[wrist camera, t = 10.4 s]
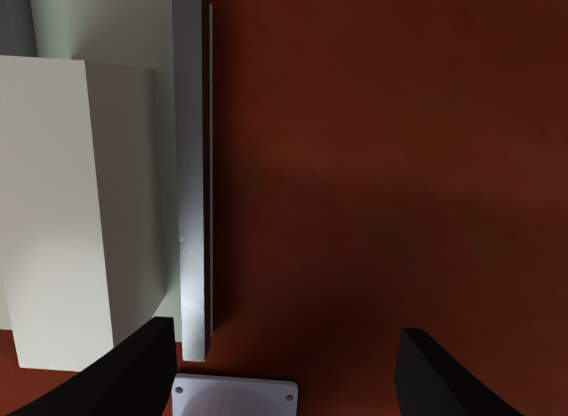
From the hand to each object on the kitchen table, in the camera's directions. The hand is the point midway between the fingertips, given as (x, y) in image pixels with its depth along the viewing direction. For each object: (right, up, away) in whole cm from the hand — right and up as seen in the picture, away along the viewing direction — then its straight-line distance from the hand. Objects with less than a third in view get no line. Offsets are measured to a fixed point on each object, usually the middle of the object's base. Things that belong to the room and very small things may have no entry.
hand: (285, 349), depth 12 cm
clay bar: (-8, +5, +7) cm, 12 cm away
